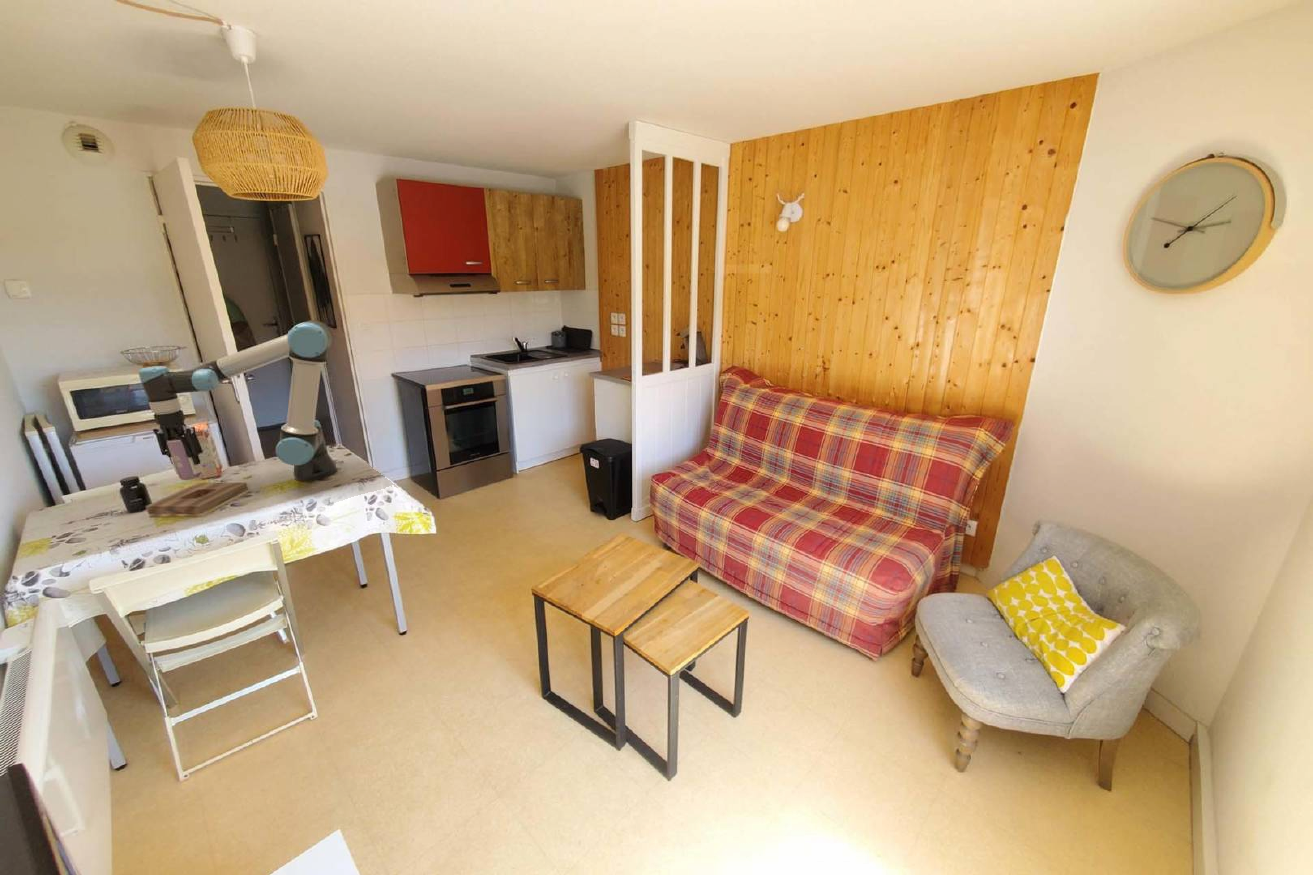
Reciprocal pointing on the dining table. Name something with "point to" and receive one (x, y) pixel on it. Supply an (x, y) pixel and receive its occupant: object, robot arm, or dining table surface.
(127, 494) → the supplement bottle
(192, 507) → the socket block
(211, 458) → the cracker box
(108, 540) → the dining table surface
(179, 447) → the beverage can
